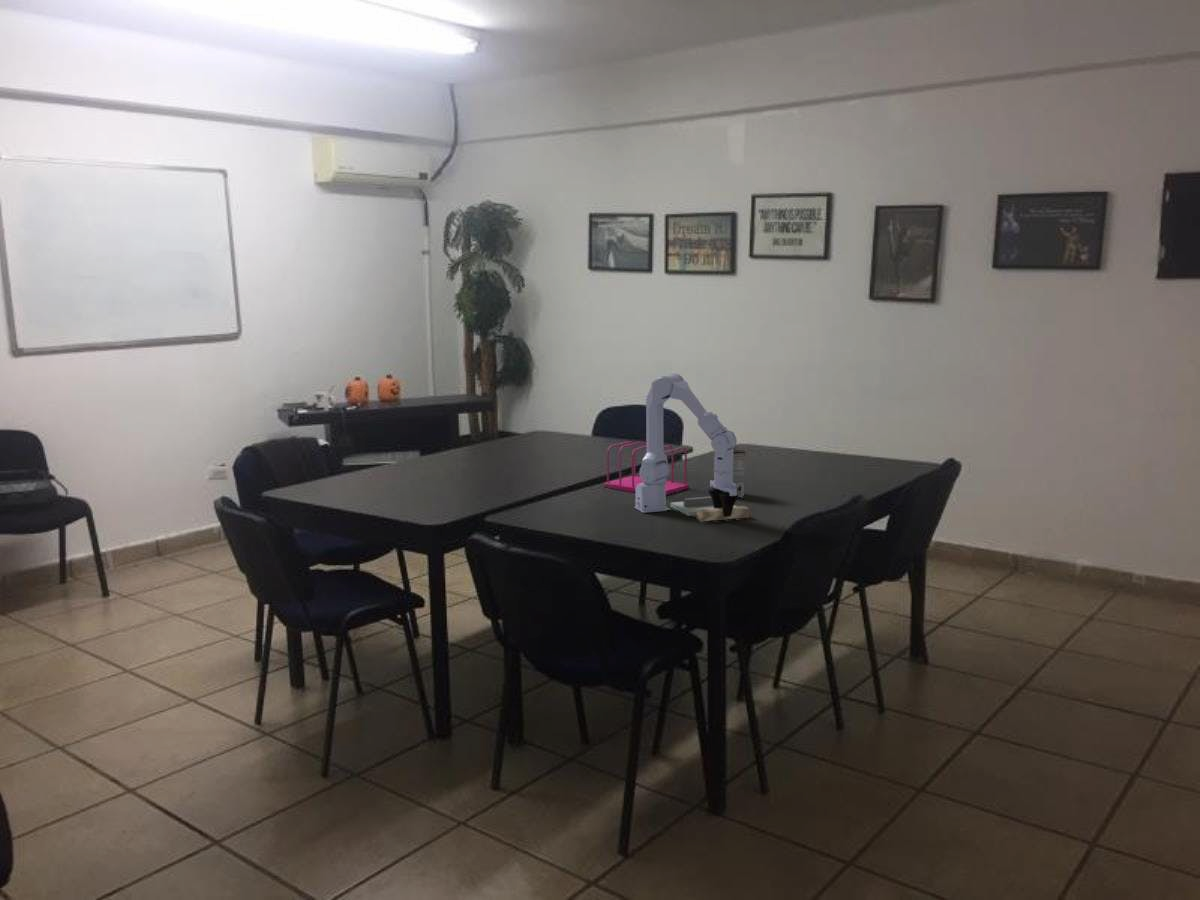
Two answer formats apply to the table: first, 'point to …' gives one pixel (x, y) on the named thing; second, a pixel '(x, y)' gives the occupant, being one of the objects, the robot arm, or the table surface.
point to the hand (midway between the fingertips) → (722, 513)
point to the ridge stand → (693, 505)
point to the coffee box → (739, 470)
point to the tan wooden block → (722, 513)
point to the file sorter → (632, 481)
